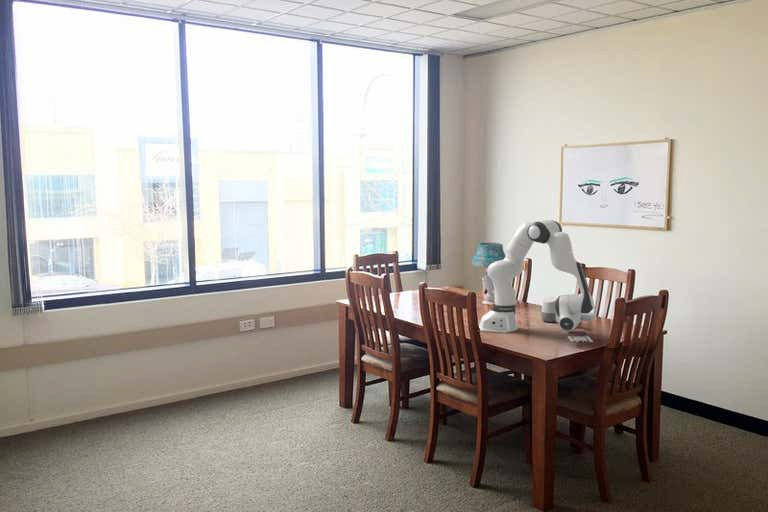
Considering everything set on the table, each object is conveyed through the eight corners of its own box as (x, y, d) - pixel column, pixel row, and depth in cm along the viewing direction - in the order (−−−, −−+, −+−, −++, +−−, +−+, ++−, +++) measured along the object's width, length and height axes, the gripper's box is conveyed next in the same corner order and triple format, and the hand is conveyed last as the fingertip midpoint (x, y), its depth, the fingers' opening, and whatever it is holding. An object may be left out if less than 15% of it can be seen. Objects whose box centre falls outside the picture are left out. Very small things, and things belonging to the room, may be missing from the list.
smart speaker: (537, 320, 374) (538, 297, 372) (549, 318, 378) (550, 295, 376) (548, 323, 366) (549, 299, 364) (561, 322, 370) (561, 298, 368)
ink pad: (569, 334, 342) (569, 331, 342) (566, 330, 349) (566, 328, 349) (586, 334, 341) (586, 331, 341) (583, 331, 348) (583, 328, 348)
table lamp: (466, 300, 433) (467, 242, 427) (500, 299, 437) (501, 241, 432) (478, 308, 409) (479, 246, 404) (513, 306, 414) (514, 245, 408)
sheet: (571, 341, 327) (571, 340, 327) (567, 336, 337) (567, 335, 337) (592, 341, 326) (592, 341, 326) (588, 336, 336) (588, 336, 336)
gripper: (593, 313, 327) (597, 308, 339) (553, 310, 336) (558, 305, 349) (593, 325, 328) (597, 320, 340) (553, 321, 337) (558, 316, 349)
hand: (577, 312), depth 345 cm, fingers closed on stamp, 3 cm apart
